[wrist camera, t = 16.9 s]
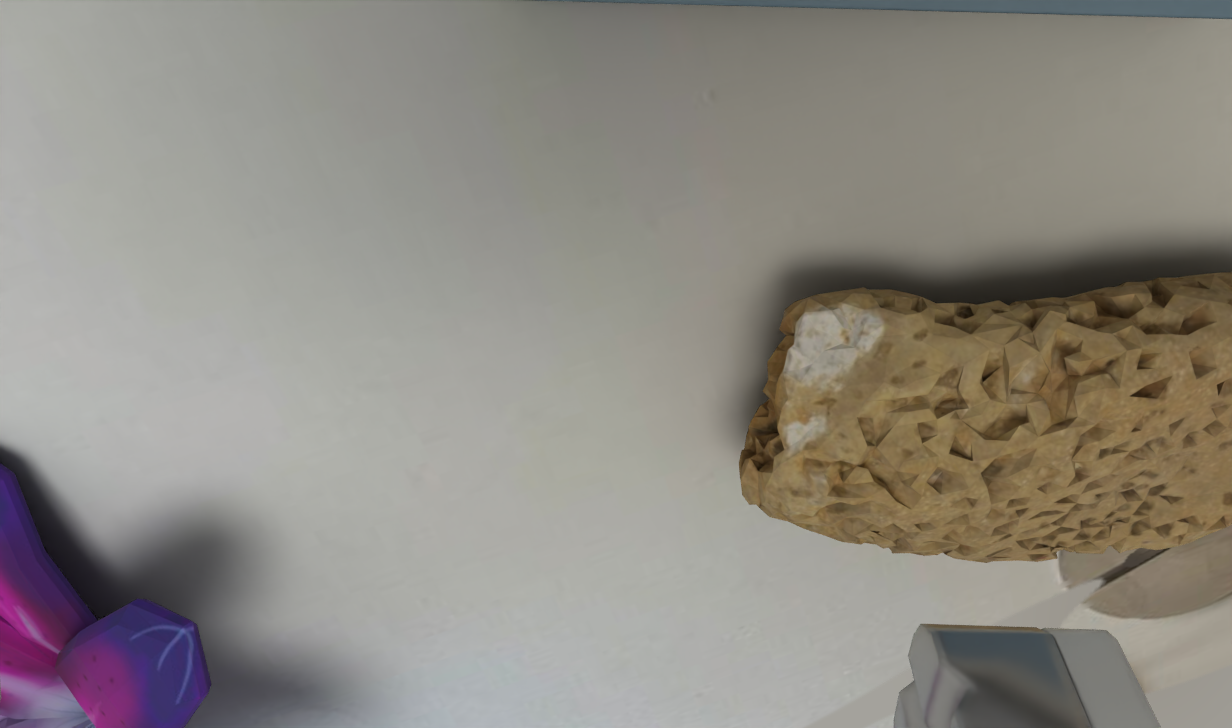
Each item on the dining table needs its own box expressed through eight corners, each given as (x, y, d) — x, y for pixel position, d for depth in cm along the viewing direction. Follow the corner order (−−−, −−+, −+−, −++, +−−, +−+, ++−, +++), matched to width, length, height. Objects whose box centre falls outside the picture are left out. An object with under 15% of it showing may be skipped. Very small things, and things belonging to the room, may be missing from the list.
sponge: (738, 456, 43) (1223, 590, 41) (716, 548, 36) (1302, 718, 34) (821, 152, 38) (1378, 283, 36) (814, 189, 31) (1510, 355, 29)
